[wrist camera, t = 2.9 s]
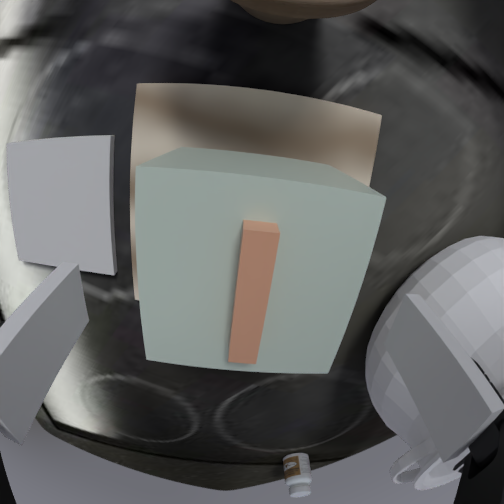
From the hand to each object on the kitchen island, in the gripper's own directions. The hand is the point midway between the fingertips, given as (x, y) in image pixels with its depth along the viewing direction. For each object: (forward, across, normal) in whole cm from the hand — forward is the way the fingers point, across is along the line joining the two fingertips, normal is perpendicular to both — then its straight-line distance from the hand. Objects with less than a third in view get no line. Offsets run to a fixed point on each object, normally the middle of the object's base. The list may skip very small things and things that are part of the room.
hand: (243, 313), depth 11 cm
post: (+13, 0, 0) cm, 13 cm away
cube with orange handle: (+9, 0, 0) cm, 9 cm away
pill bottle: (+14, +13, -41) cm, 45 cm away
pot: (+13, +25, -10) cm, 30 cm away
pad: (+13, -17, -1) cm, 21 cm away
